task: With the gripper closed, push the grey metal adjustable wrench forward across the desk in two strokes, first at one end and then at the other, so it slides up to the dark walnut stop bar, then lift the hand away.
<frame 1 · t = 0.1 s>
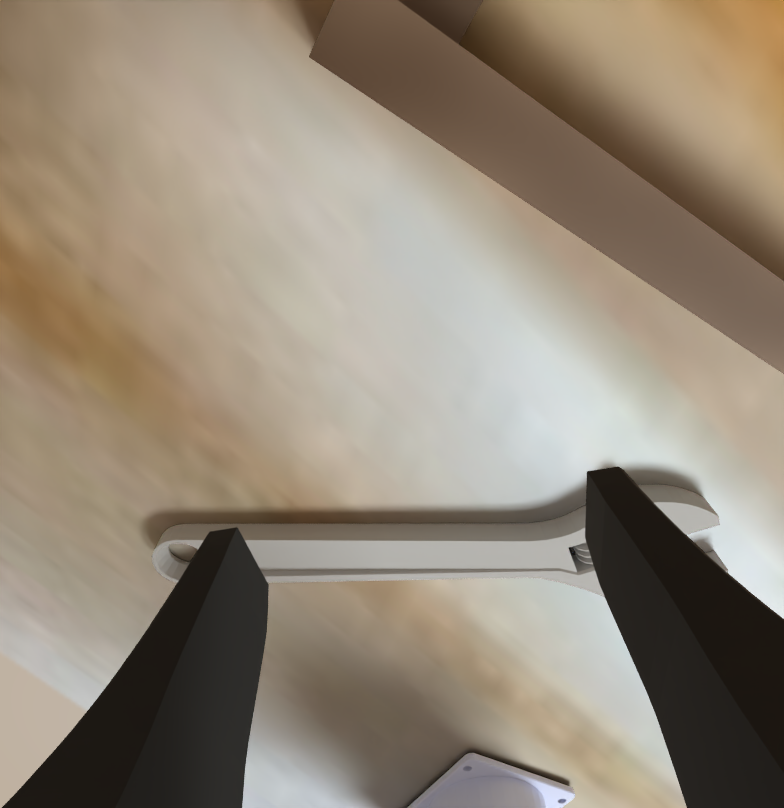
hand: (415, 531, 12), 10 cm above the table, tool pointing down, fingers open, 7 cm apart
walnut stop bar: (672, 259, 20), on the table
adjustable wrench: (445, 522, 26), on the table
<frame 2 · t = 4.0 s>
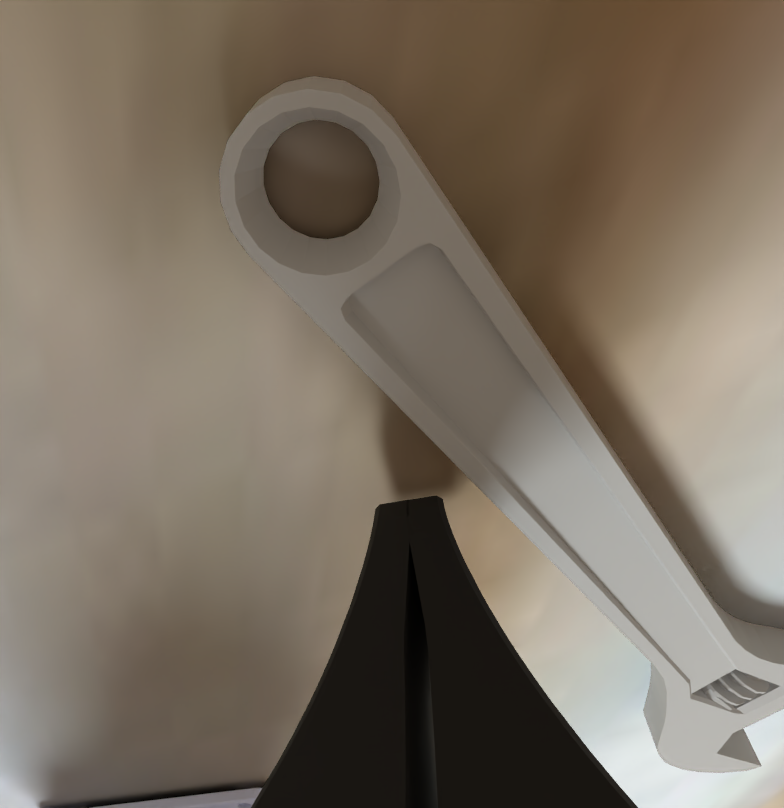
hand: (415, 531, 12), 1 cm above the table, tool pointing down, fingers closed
adjustable wrench: (645, 526, 15), on the table
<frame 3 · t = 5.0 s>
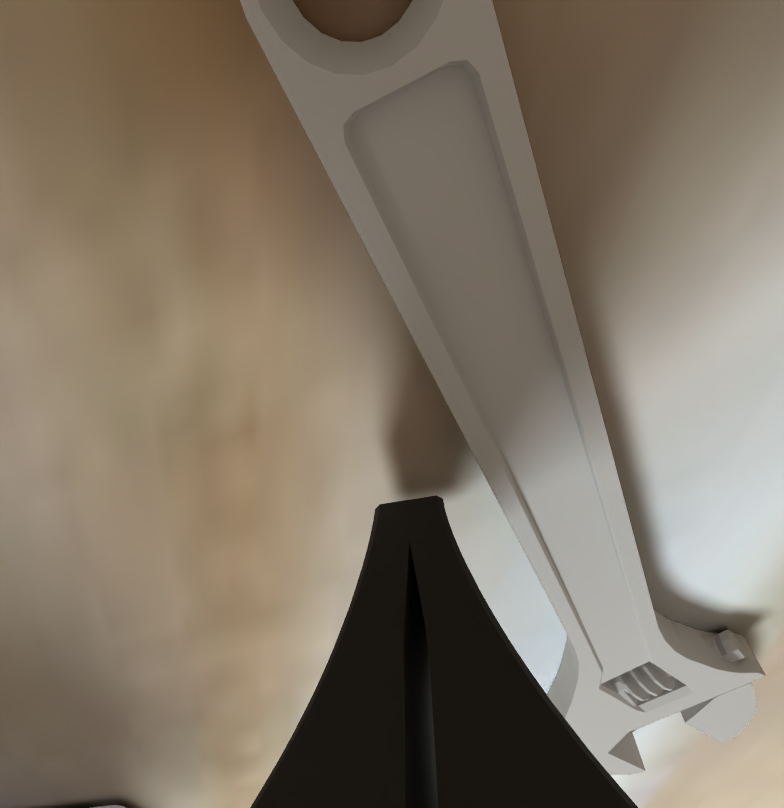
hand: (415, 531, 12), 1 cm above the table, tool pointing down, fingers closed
adjustable wrench: (592, 496, 14), on the table, touching gripper
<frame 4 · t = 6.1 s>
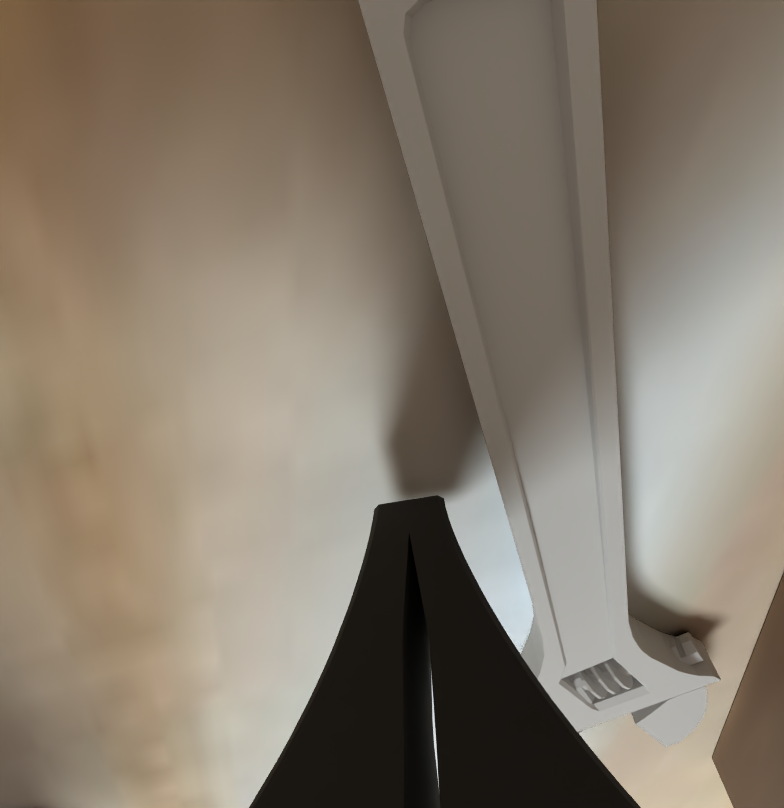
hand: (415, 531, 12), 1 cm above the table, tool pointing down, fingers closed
adjustable wrench: (579, 483, 14), on the table
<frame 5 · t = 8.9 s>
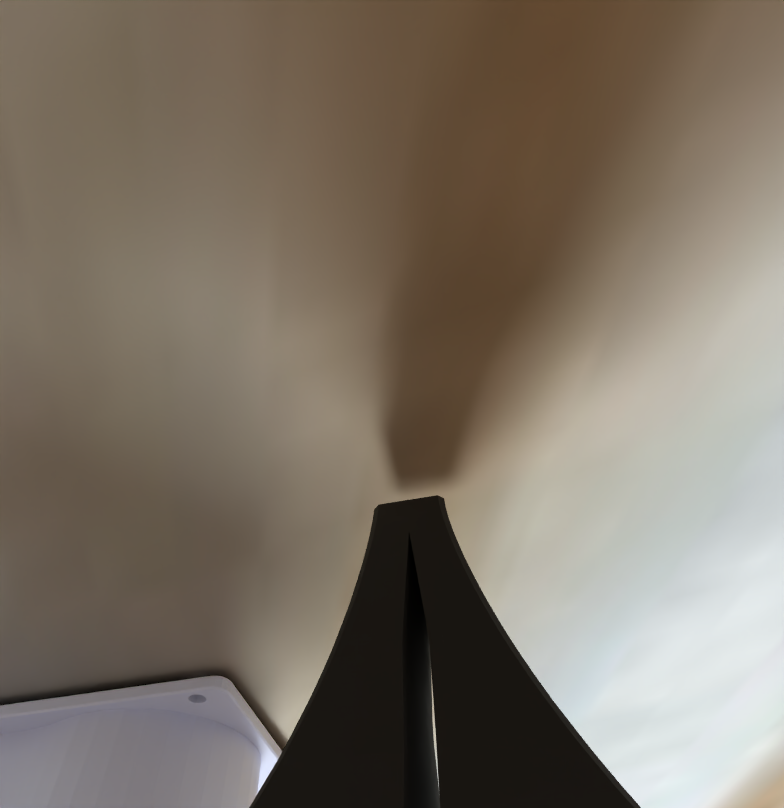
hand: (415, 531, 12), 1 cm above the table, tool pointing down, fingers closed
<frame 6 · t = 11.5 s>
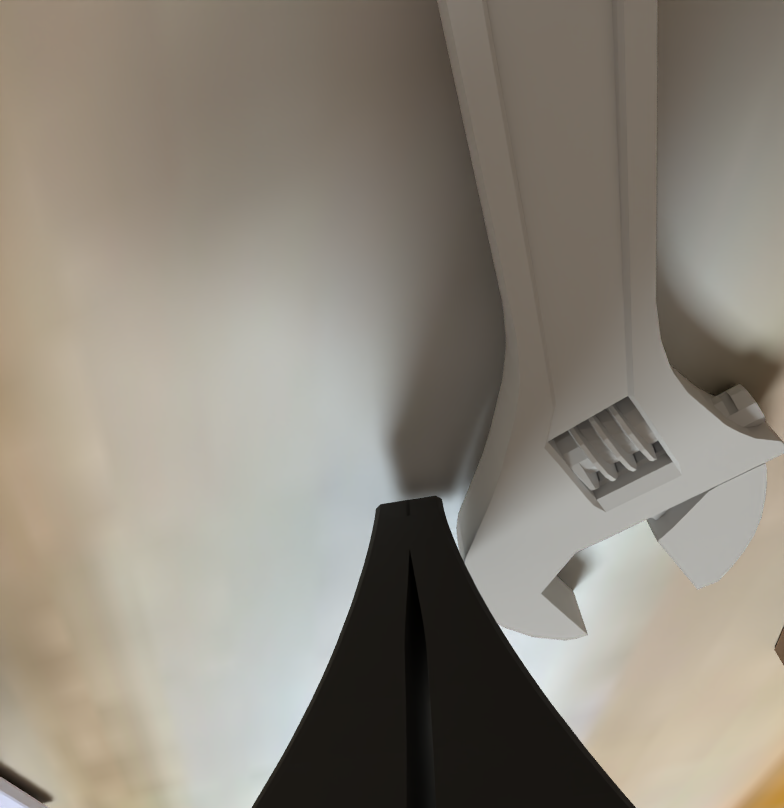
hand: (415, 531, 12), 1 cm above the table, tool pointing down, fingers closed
adjustable wrench: (576, 44, 8), on the table, touching gripper
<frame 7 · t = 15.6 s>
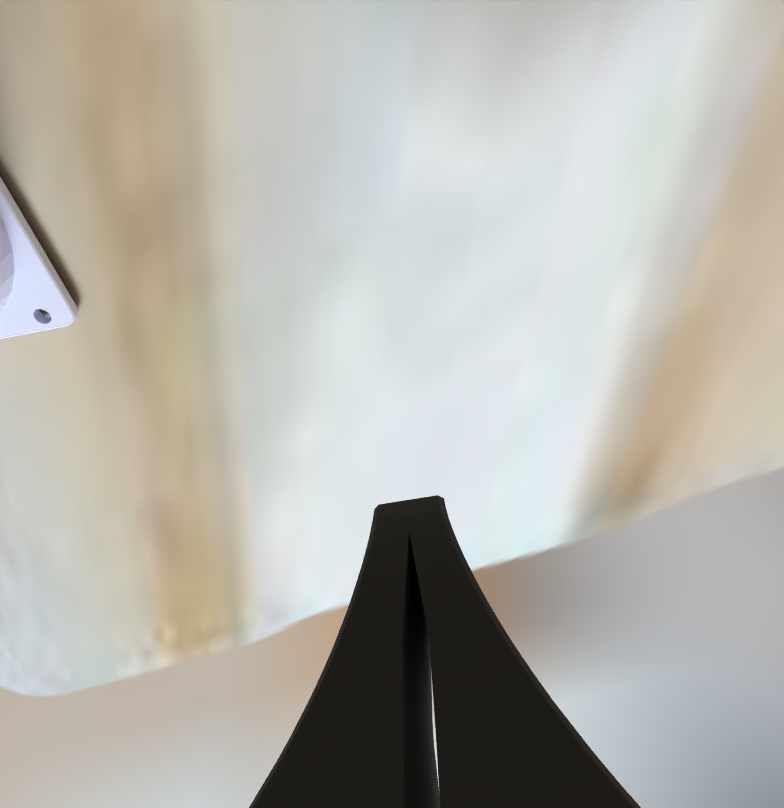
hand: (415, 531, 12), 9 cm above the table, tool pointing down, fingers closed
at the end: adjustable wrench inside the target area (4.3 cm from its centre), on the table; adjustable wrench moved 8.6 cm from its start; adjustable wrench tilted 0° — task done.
